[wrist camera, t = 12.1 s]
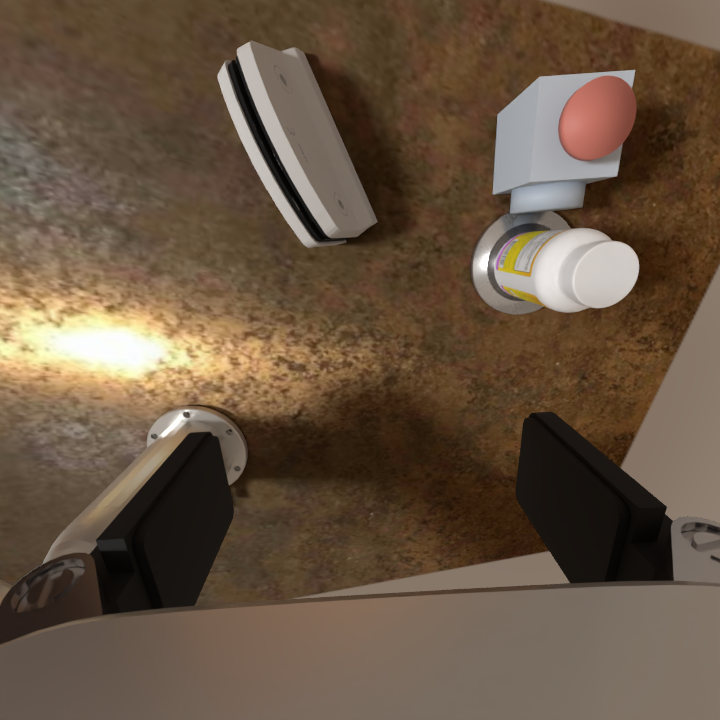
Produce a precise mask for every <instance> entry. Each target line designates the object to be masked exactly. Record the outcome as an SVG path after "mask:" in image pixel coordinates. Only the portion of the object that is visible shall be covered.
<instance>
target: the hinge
mask: <svg viewBox="0 0 720 720" xmlns="http://www.w3.org/2000/svg"><path fill="white" fill-rule="evenodd" d="M218 81H219V84H220V87H221V90H222V93H223V96H224V99H225V102H226V104H227V107H228V110H229V112H230V115H231V117H232V120H233V122H234V124H235V127H236V129H237V132H238V134H239V136H240V139H241V141H242V143H243V145H244V147H245V149H246V151H247V153H248V155H249V157H250V159H251V161H252V163H253V165H254V167H255V169H256V171H257V173H258V174H259V176H260V178H261V180H262V182H263V184H264V185H265V187H266V189H267V190H268V192H269V194H270V195H271V197H272V199H273V200H274V202H275V204H276V205H277V207H278V209H279V210H280V212H281V213H282V215H283V216H284V218H285V219H286V221H287V222H288V224H289V225H290V227H291V228H292V229H293V231H294V232H295V234H296V235H297V236H298V238H299V239H300V240H301V242H302V243H303V244H304V245H305V246H306V247H308V248H312V247H322V246H332V245H338V244H343V243H346V239H348V238H349V237H358V236H359V235H360V234H361V233H363V232H364V231H365V230H366V229H368V228H369V227H370V226H372V225H374V224H375V223H377V222H378V221H377V219H376V217H375V214H374V212H373V210H372V207H371V205H370V203H369V201H368V198H367V196H366V194H365V191H364V189H363V187H362V185H361V182H360V180H359V178H358V175H357V173H356V171H355V168H354V166H353V164H352V162H351V159H350V157H349V155H348V152H347V150H346V148H345V146H344V143H343V141H342V139H341V136H340V134H339V132H338V129H337V127H336V125H335V123H334V120H333V118H332V116H331V113H330V111H329V109H328V107H327V104H326V102H325V100H324V97H323V95H322V93H321V90H320V88H319V86H318V84H317V81H316V79H315V77H314V74H313V72H312V70H311V68H310V65H309V63H308V61H307V58H306V56H305V54H304V52H302V51H301V50H299V49H298V48H296V47H294V48H290V49H287V50H284V51H278V50H275V49H273V48H270V47H267V46H265V45H262V44H259V43H257V42H254V41H250V42H248V43H246V44H245V45H243V46H241V47H240V48H238V49H237V57H236V61H235V60H232V61H230V60H226V61H225V63H224V64H223V66H222V68H221V70H220V72H219V73H218Z"/></svg>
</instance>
